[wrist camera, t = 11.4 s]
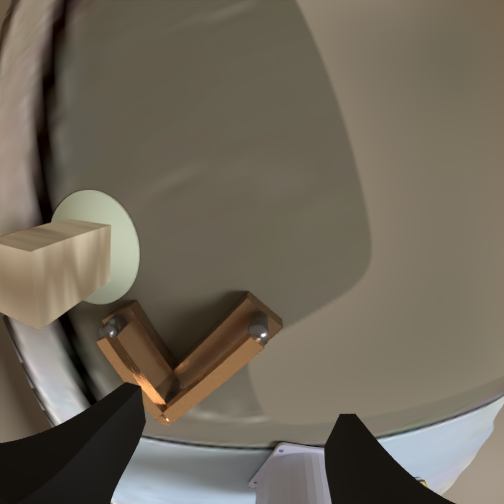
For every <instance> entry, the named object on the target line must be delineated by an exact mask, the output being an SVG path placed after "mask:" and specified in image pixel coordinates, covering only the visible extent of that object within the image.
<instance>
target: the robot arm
mask: <svg viewBox="0 0 504 504" xmlns="http://www.w3.org/2000/svg"><path fill="white" fill-rule="evenodd" d="M145 423H146V420H145V412H144V405H143V396H142V387H141V386H139V385H136V384H132V383H129V382H125V383H124V384H122V385H121V386H119V387H118V388H117V389H115V390H114V391H112V392H111V393H110V394H108V395H107V396H105V397H104V398H103V399H101V400H100V401H98V402H97V403H95V404H94V405H92V406H91V407H89V408H88V409H86V410H85V411H83V412H81V413H80V414H78V415H76V416H74V417H73V418H71V419H69V420H67V421H66V422H64V423H62V424H60V425H58V426H55V427H53V428H51V429H49V430H46V431H44V432H41V433H39V434H36V435H33V436H29V437H26V438H23V439H19V440H15V441H10V442H5V443H0V504H110V502H111V499H112V496H113V493H114V491H115V488H116V486H117V484H118V482H119V480H120V478H121V476H122V474H123V472H124V470H125V468H126V466H127V465H128V463H129V461H130V459H131V457H132V455H133V453H134V451H135V449H136V447H137V445H138V443H139V440H140V437H141V435H142V432H143V429H144V426H145ZM248 486H249V487H250V488H256V504H455V503H453V502H451V501H449V500H447V499H445V498H443V497H442V496H440V495H438V494H437V493H435V492H433V491H432V490H430V489H429V488H427V487H426V486H424V485H423V484H422V483H420V482H419V481H418V480H417V479H415V478H414V477H413V476H412V475H410V474H409V473H408V472H407V471H406V470H405V469H404V468H403V467H402V466H401V465H400V464H398V463H397V462H396V461H395V460H394V459H393V458H392V456H391V455H390V454H389V453H388V452H387V451H386V450H385V449H384V448H383V447H382V445H381V444H380V443H379V442H378V441H377V440H376V438H375V437H374V436H373V435H372V434H371V432H370V431H369V430H368V429H367V428H366V426H365V425H364V424H363V423H362V421H361V420H360V419H359V418H358V417H357V415H356V414H340V415H339V417H338V419H337V421H336V424H335V426H334V428H333V430H332V432H331V434H330V436H329V438H328V440H327V442H326V444H325V446H324V448H319V447H311V446H304V445H297V444H291V443H285V442H282V443H279V444H278V445H277V446H276V448H275V449H274V451H273V452H272V453H271V455H270V456H269V457H268V459H267V460H266V461H265V463H264V464H263V465H262V467H261V468H260V469H259V471H258V472H257V473H256V474H255V476H254V477H253V478H252V479H251V481H250V482H249V483H248Z"/></svg>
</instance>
